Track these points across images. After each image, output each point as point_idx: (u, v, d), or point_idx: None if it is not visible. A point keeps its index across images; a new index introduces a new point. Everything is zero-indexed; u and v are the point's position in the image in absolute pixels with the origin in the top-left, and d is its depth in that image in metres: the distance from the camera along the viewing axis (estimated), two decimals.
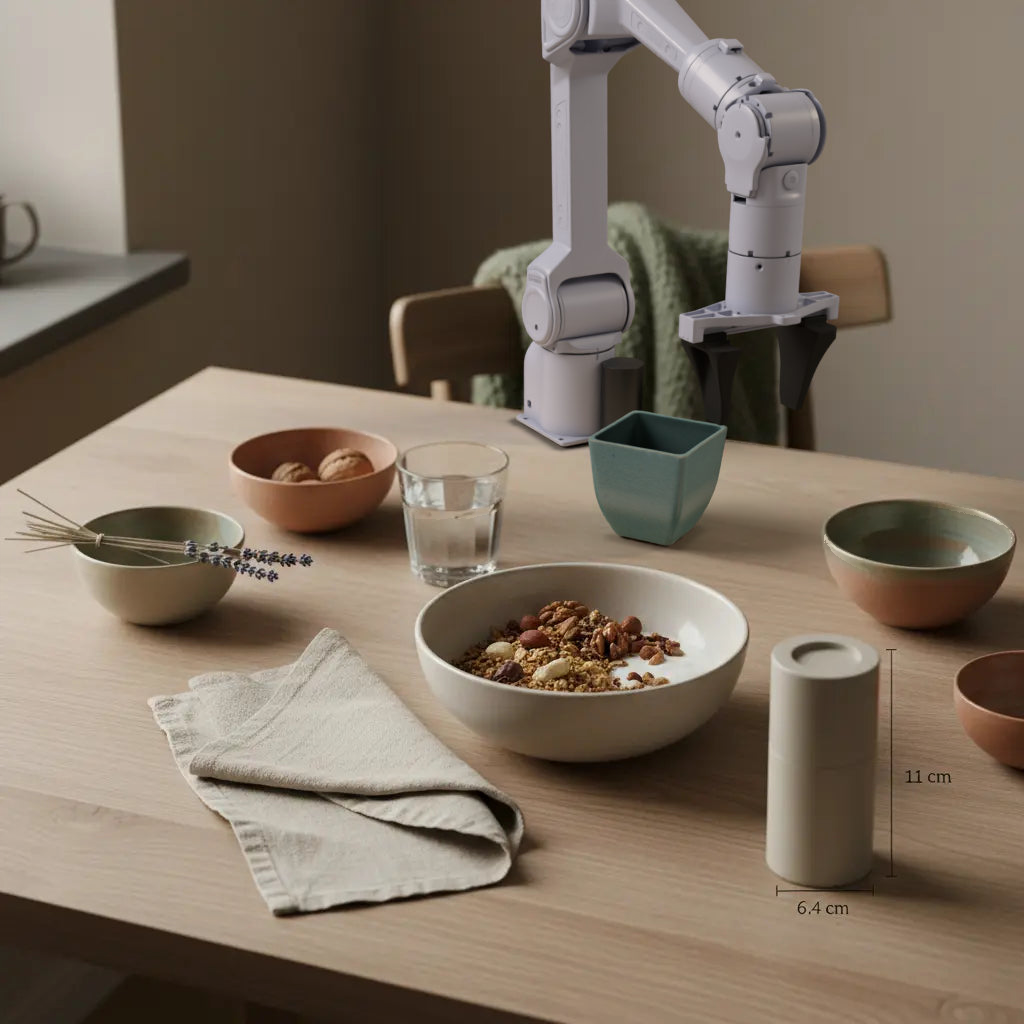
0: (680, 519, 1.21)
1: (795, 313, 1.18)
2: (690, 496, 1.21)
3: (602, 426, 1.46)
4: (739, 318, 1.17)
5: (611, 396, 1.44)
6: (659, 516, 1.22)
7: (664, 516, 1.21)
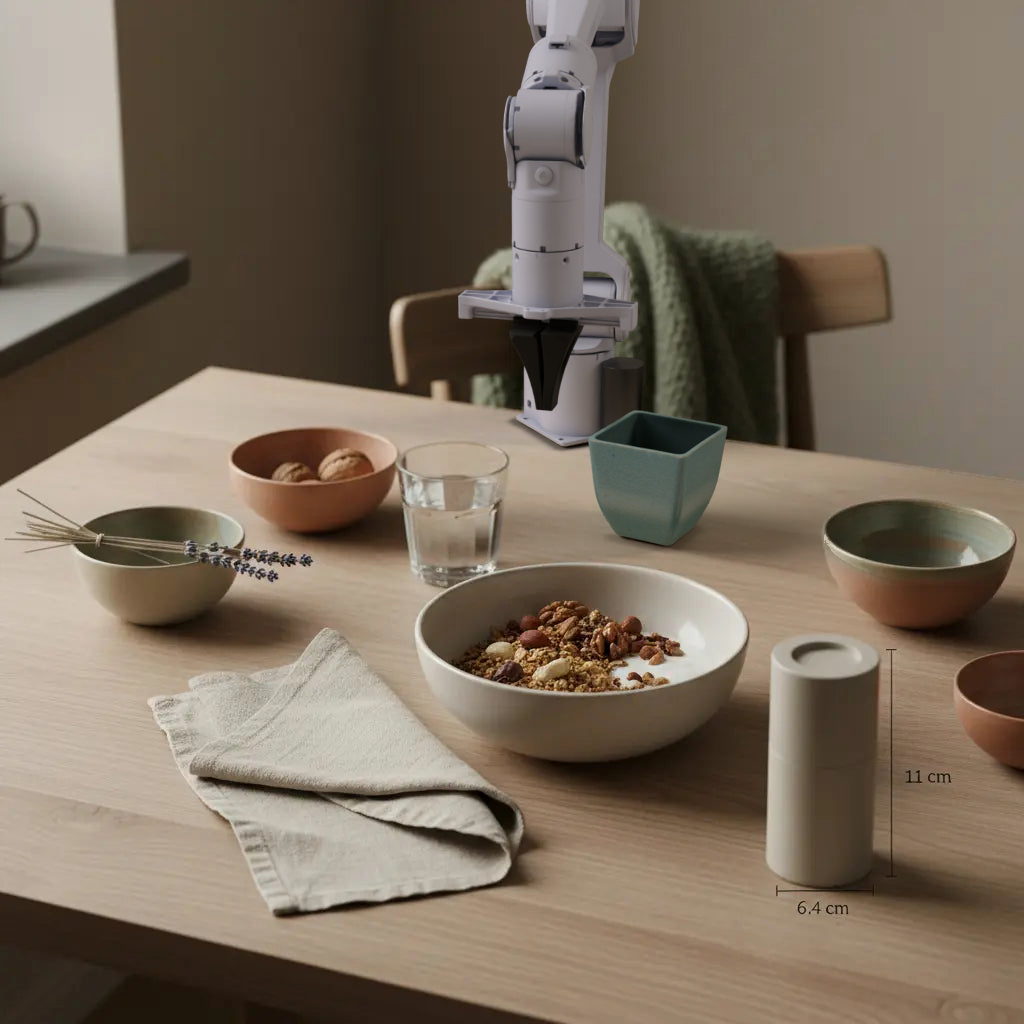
0: (680, 519, 1.21)
1: (545, 310, 1.19)
2: (690, 496, 1.21)
3: (602, 426, 1.46)
4: (497, 303, 1.21)
5: (611, 396, 1.44)
6: (659, 516, 1.22)
7: (664, 516, 1.21)
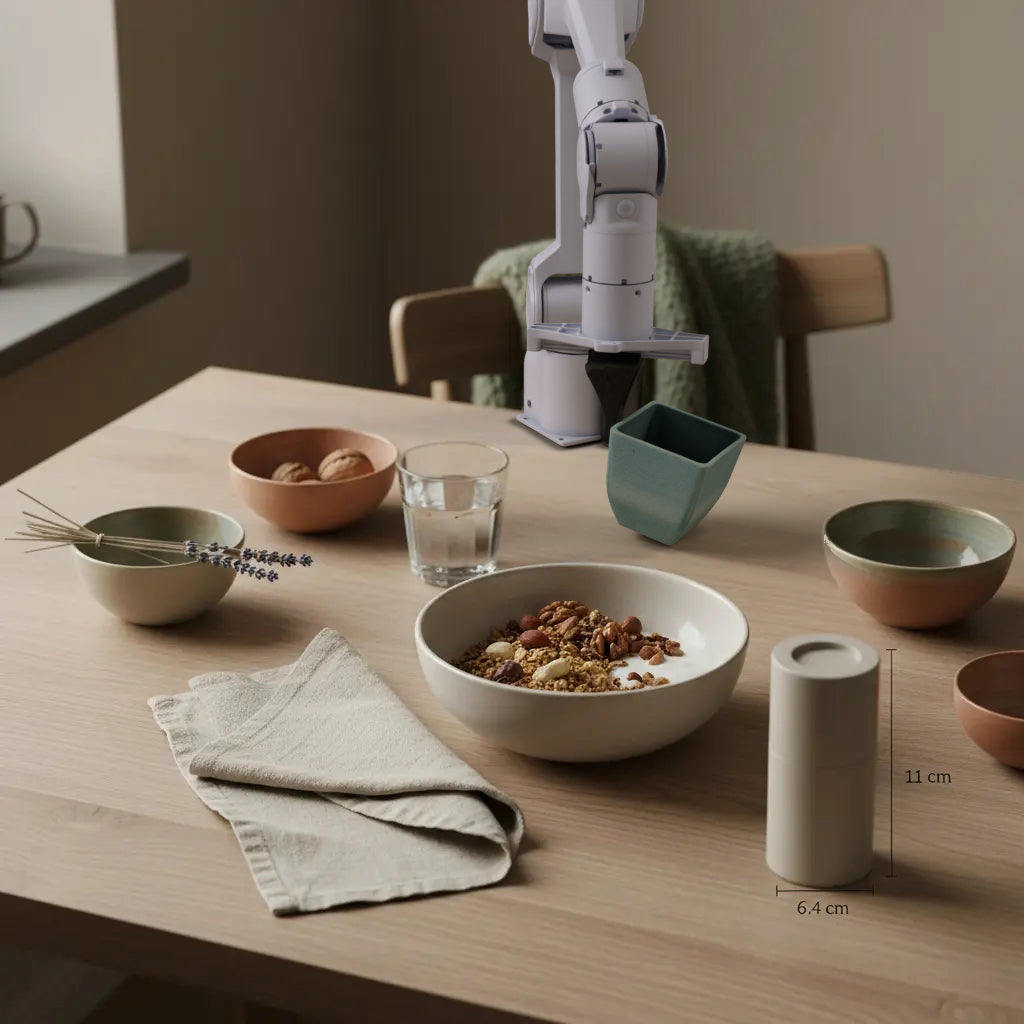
0: (688, 524, 1.21)
1: (617, 343, 1.18)
2: (701, 502, 1.21)
3: (602, 426, 1.46)
4: (567, 336, 1.20)
5: None
6: (667, 517, 1.21)
7: (673, 519, 1.21)
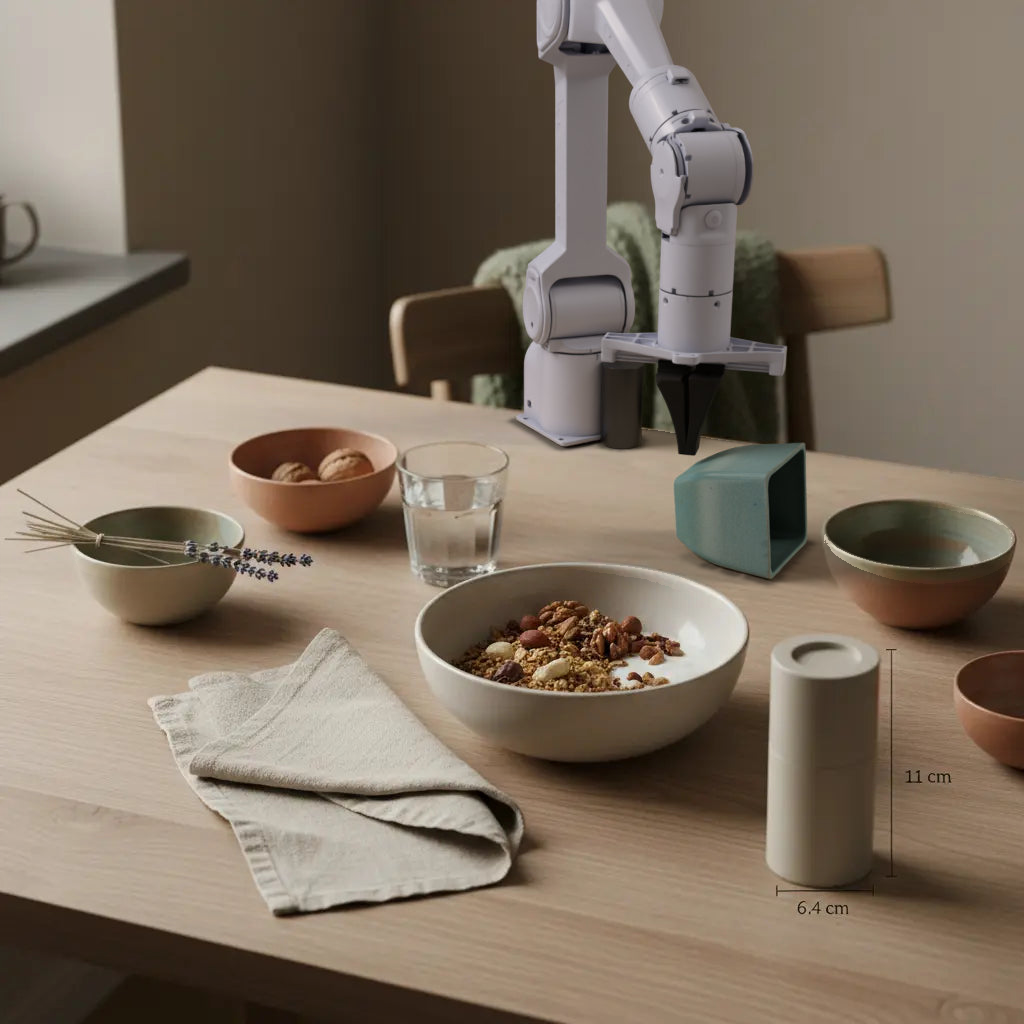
0: (705, 559, 1.21)
1: (695, 355, 1.17)
2: None
3: (602, 426, 1.46)
4: (643, 347, 1.19)
5: (611, 396, 1.44)
6: (704, 542, 1.20)
7: (705, 549, 1.20)
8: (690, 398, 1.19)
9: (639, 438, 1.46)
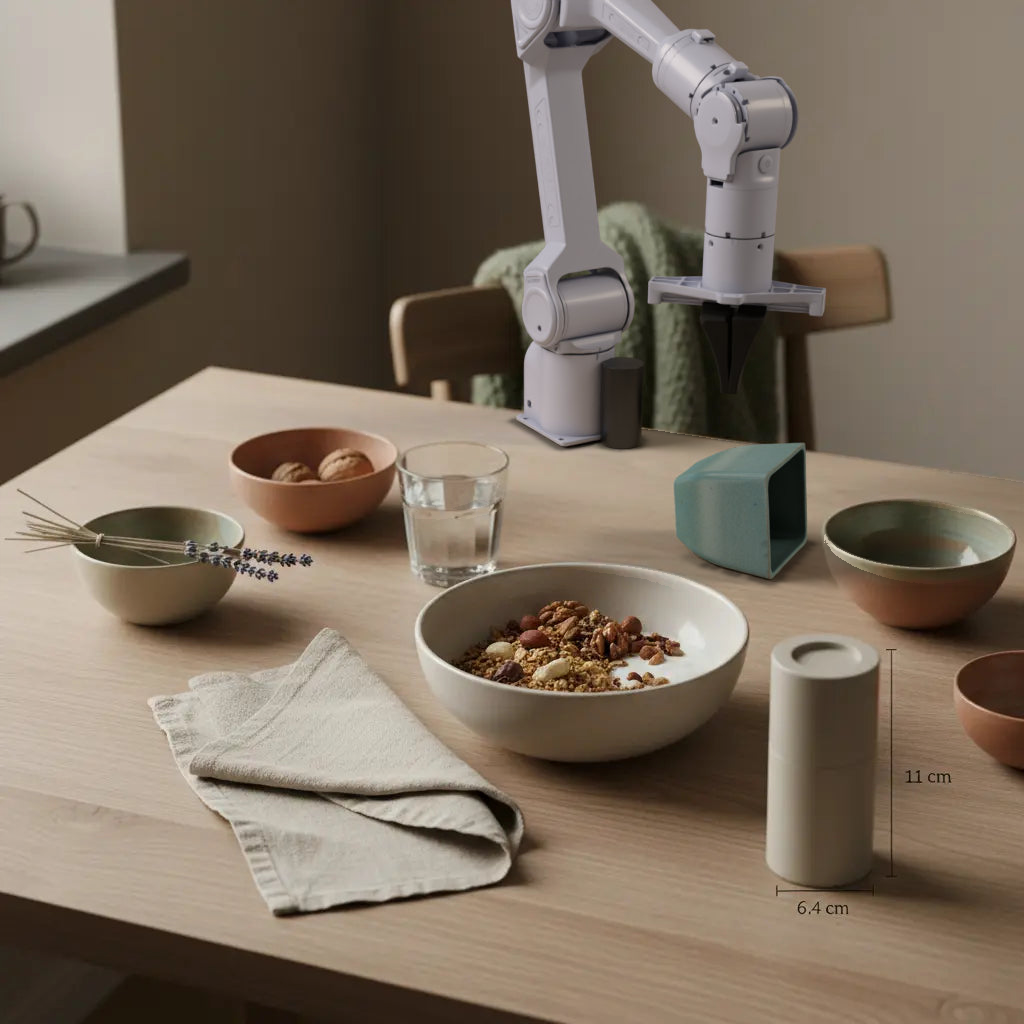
0: (705, 559, 1.21)
1: (739, 295, 1.22)
2: None
3: (602, 426, 1.46)
4: (689, 289, 1.25)
5: (611, 396, 1.44)
6: (704, 542, 1.20)
7: (705, 549, 1.20)
8: (733, 338, 1.25)
9: (639, 438, 1.46)
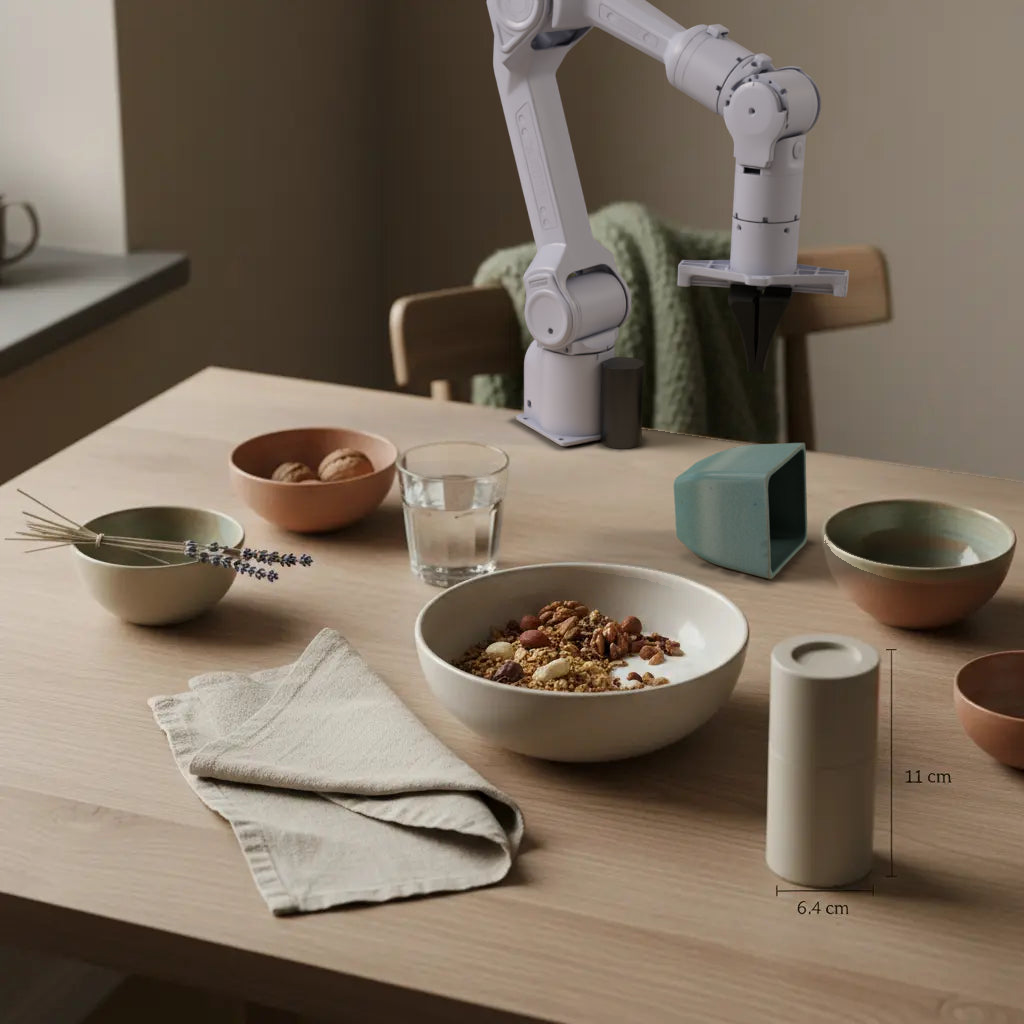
0: (705, 559, 1.21)
1: (766, 277, 1.27)
2: None
3: (602, 426, 1.46)
4: (717, 272, 1.30)
5: (611, 396, 1.44)
6: (704, 542, 1.20)
7: (705, 549, 1.20)
8: (760, 318, 1.30)
9: (639, 438, 1.46)
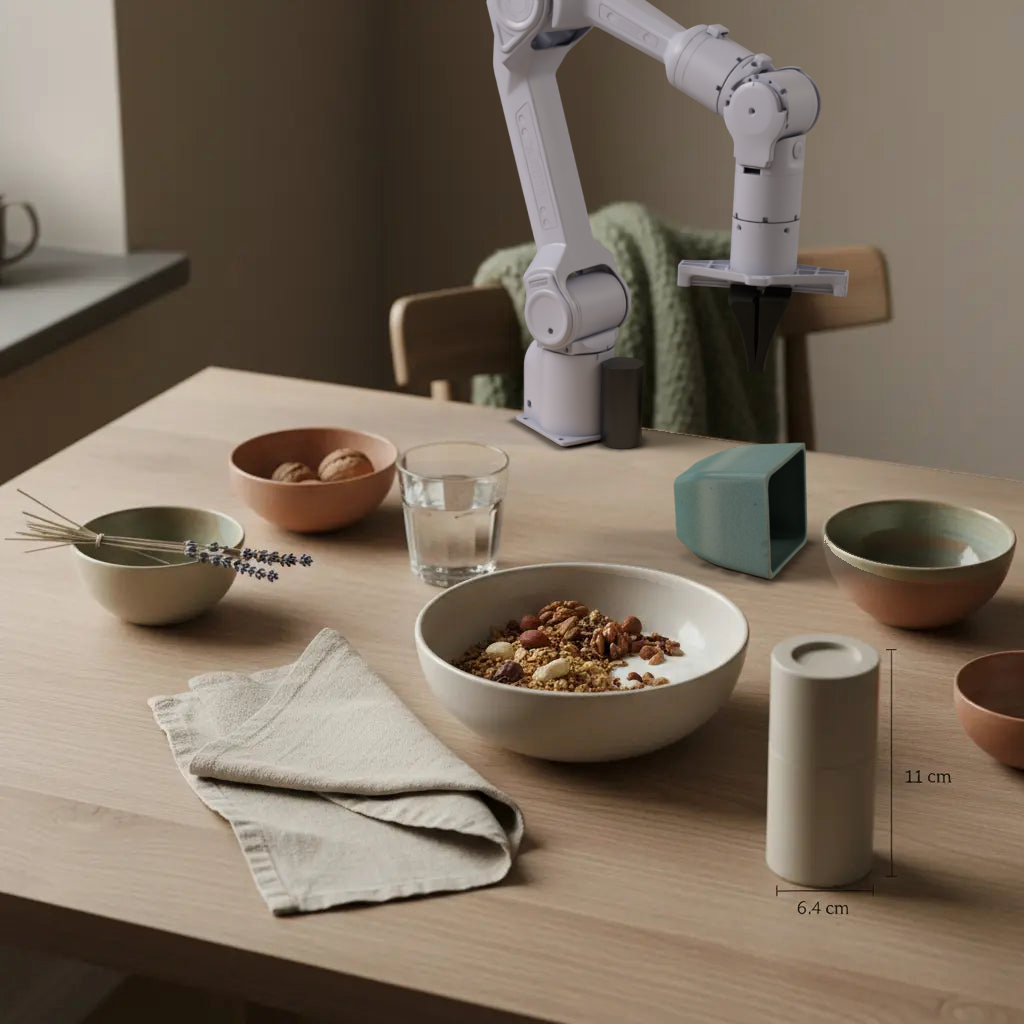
0: (705, 559, 1.21)
1: (766, 277, 1.27)
2: None
3: (602, 426, 1.46)
4: (717, 272, 1.30)
5: (611, 396, 1.44)
6: (704, 542, 1.20)
7: (705, 549, 1.20)
8: (760, 318, 1.30)
9: (639, 438, 1.46)
